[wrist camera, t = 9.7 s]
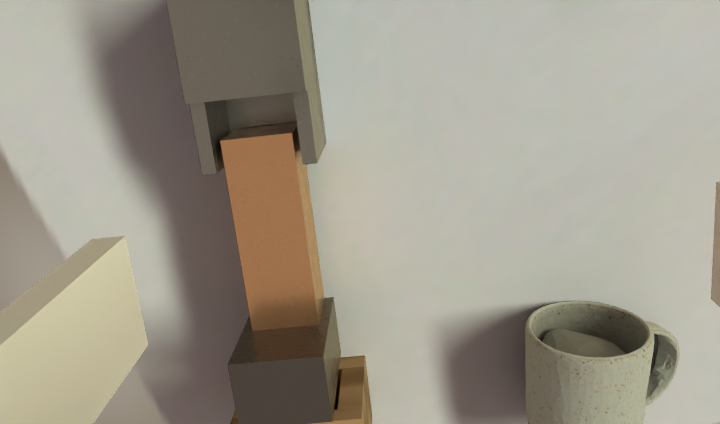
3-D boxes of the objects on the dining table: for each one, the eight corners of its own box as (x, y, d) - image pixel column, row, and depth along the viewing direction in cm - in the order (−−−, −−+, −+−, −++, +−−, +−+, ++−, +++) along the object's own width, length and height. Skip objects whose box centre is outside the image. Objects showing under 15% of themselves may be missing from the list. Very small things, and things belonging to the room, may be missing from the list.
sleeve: (198, -24, 40) (160, -33, 33) (303, -37, 40) (287, -48, 33) (227, 153, 43) (198, 178, 36) (326, 142, 43) (315, 166, 36)
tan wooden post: (225, 130, 41) (189, 156, 33) (310, 121, 40) (293, 144, 33) (273, 418, 46) (252, 497, 38) (348, 412, 46) (342, 490, 38)
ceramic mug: (515, 409, 48) (542, 480, 40) (513, 302, 45) (541, 357, 38) (666, 399, 47) (721, 470, 40) (671, 292, 45) (731, 345, 38)
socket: (252, 365, 47) (228, 429, 40) (364, 355, 47) (361, 418, 39) (262, 425, 49) (240, 497, 41) (372, 415, 48) (370, 487, 41)
